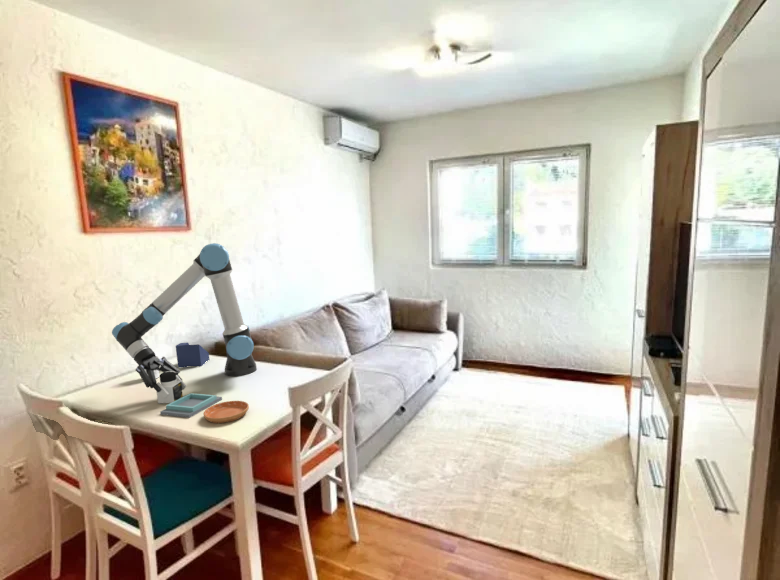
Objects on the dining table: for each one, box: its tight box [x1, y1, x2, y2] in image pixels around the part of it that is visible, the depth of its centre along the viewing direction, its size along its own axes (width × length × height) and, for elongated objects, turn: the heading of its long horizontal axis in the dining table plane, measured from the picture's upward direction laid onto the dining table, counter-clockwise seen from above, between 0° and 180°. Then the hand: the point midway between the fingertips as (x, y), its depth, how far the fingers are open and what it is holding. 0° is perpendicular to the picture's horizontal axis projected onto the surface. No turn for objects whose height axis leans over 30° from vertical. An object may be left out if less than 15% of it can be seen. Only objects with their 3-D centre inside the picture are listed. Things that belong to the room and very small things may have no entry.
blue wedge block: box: [175, 342, 210, 368], centre depth 233 cm, size 12×12×12 cm
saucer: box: [202, 400, 249, 424], centre depth 162 cm, size 16×16×3 cm
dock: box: [159, 392, 223, 418], centre depth 173 cm, size 18×14×3 cm
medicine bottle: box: [156, 371, 184, 404], centre depth 181 cm, size 7×7×12 cm
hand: (175, 391), depth 180 cm, fingers closed on medicine bottle, 9 cm apart
